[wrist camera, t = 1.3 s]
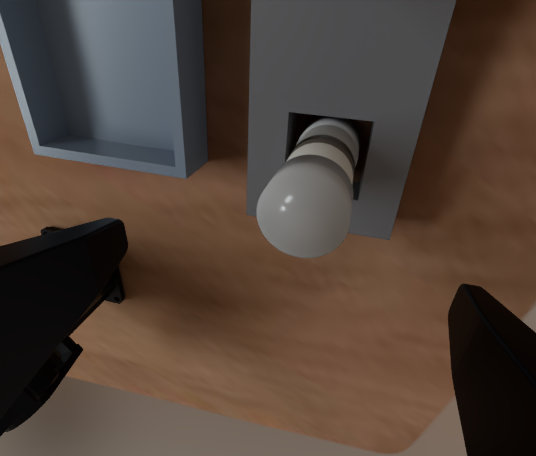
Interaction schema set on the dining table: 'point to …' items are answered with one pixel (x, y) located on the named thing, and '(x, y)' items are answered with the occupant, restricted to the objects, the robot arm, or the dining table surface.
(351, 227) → the fuse holder
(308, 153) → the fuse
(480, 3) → the dining table surface
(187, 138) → the parts tray
